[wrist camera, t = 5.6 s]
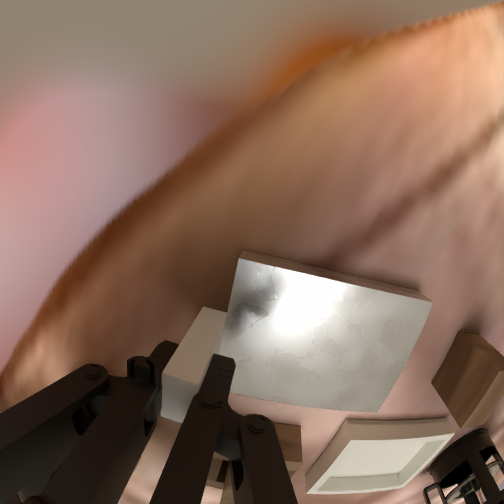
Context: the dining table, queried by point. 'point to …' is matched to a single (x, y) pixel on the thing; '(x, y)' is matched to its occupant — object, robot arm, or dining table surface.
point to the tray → (377, 455)
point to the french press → (468, 470)
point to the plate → (318, 334)
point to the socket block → (289, 446)
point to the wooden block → (471, 379)
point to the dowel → (227, 490)
